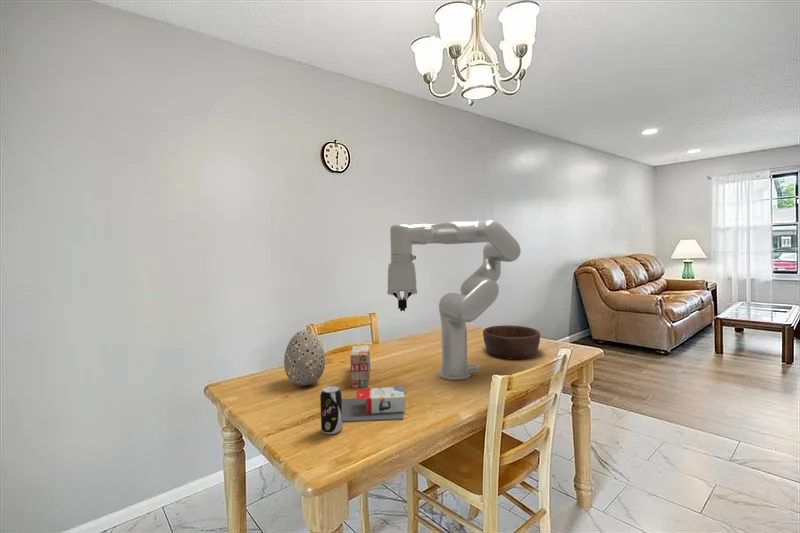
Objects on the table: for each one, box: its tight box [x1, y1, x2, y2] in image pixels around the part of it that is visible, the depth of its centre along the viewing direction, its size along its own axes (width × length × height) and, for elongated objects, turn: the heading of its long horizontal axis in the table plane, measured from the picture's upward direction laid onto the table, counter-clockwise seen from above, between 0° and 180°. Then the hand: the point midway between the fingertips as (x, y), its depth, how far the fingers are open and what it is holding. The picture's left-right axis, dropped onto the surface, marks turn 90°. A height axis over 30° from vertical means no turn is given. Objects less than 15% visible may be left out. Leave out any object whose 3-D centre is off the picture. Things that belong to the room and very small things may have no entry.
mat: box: [342, 397, 404, 423], centre depth 123 cm, size 20×16×1 cm
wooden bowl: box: [482, 324, 541, 360], centre depth 179 cm, size 25×25×10 cm
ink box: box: [355, 386, 406, 414], centre depth 122 cm, size 8×5×15 cm
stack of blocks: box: [350, 344, 371, 389], centre depth 151 cm, size 21×6×12 cm, turn 2°
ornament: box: [283, 329, 326, 386], centre depth 145 cm, size 15×15×20 cm
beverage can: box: [319, 385, 343, 435], centre depth 109 cm, size 6×6×12 cm
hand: (402, 310), depth 141 cm, fingers closed
